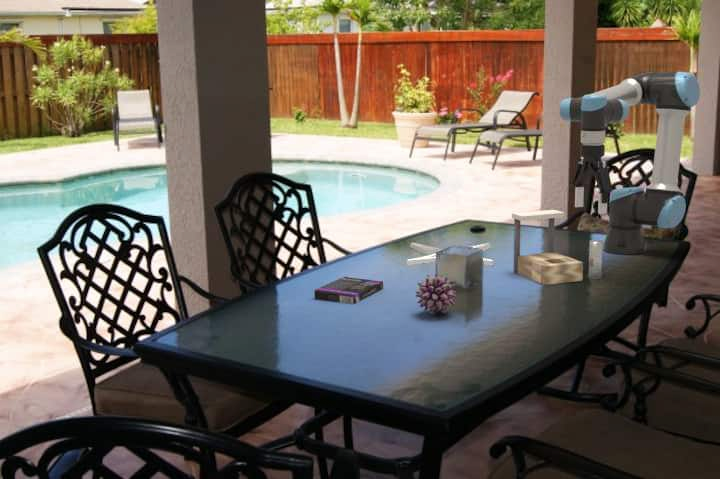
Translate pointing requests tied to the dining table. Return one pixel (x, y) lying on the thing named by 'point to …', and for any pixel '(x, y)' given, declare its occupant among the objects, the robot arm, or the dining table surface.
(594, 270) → the peg
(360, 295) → the box
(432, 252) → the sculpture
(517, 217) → the miniature white table
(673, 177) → the robot arm
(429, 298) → the purple spiky ball
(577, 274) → the socket block
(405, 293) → the dining table surface
